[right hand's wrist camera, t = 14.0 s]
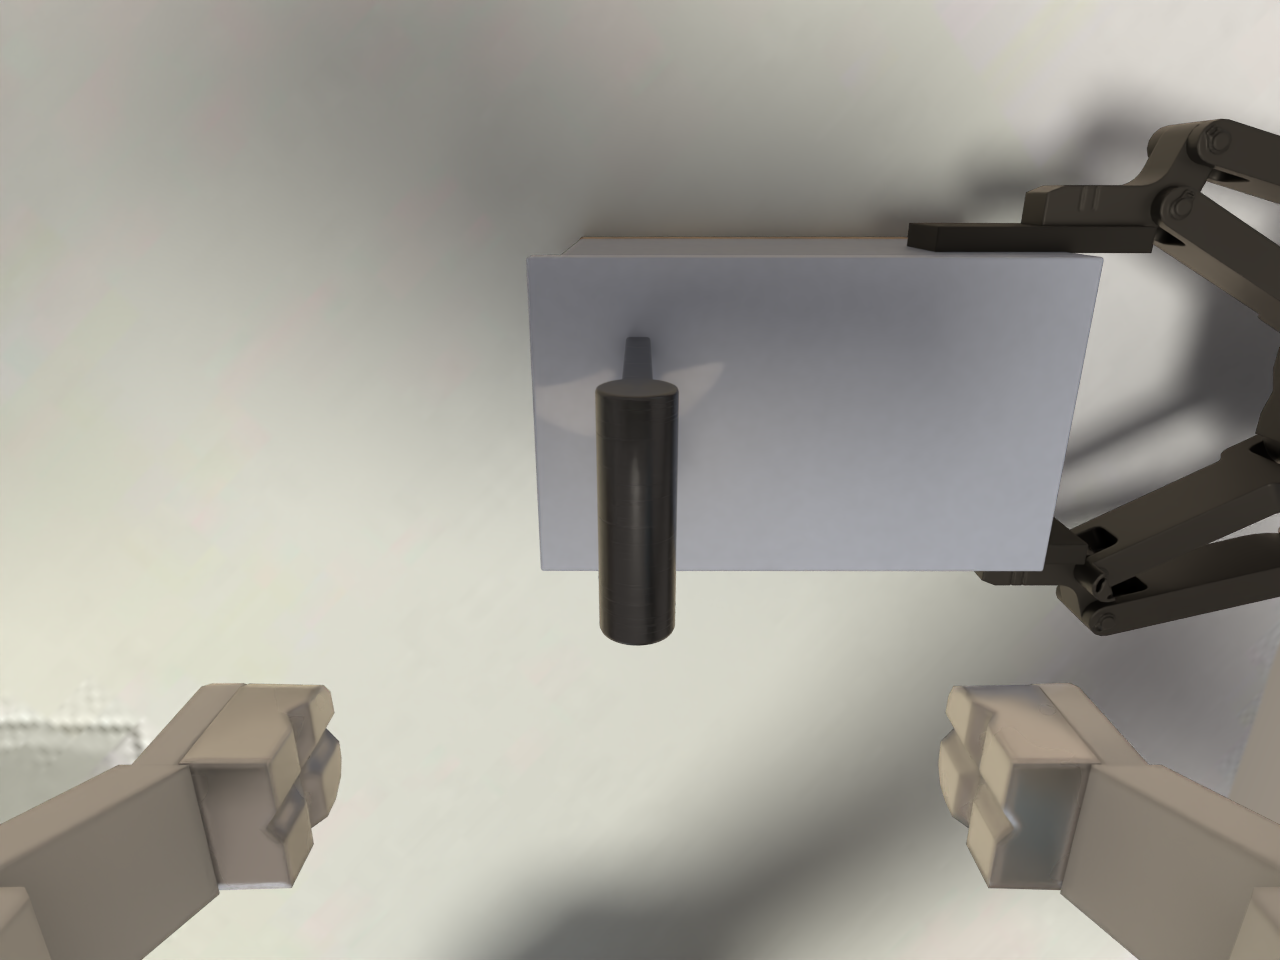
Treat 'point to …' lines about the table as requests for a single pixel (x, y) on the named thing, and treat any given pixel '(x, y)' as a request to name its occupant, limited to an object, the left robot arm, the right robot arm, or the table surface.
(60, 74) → the table surface
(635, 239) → the chest
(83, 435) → the table surface
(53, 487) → the table surface
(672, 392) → the lid
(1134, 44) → the table surface
